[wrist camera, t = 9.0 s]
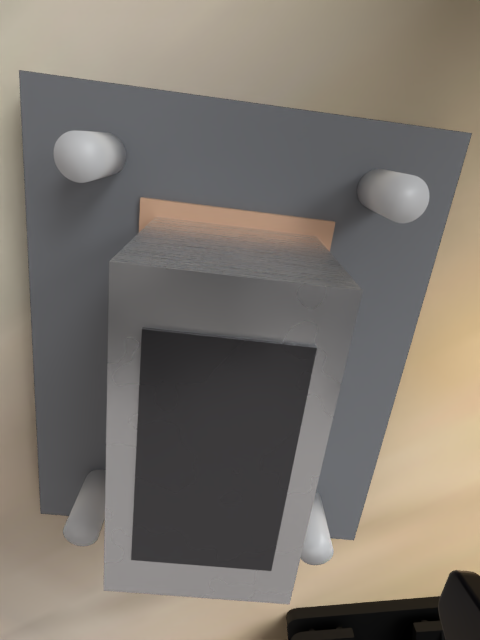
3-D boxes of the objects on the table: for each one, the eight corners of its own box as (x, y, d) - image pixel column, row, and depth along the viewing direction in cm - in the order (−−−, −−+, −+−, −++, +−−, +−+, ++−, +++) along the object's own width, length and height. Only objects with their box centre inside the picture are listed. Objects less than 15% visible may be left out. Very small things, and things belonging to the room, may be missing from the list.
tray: (449, 133, 15) (522, 131, 11) (345, 512, 20) (370, 595, 17) (40, 77, 14) (-31, 54, 10) (54, 487, 20) (12, 567, 16)
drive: (316, 236, 14) (363, 292, 9) (273, 467, 17) (289, 607, 12) (155, 216, 14) (107, 262, 9) (142, 455, 17) (102, 594, 12)
